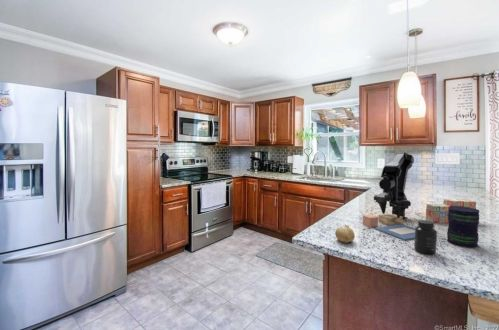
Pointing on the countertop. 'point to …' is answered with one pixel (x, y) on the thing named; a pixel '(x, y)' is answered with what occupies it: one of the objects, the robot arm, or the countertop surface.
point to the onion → (345, 234)
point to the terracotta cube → (370, 220)
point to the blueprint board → (399, 231)
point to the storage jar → (463, 226)
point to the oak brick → (390, 219)
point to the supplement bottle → (425, 238)
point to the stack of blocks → (445, 209)
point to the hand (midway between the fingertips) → (390, 215)
